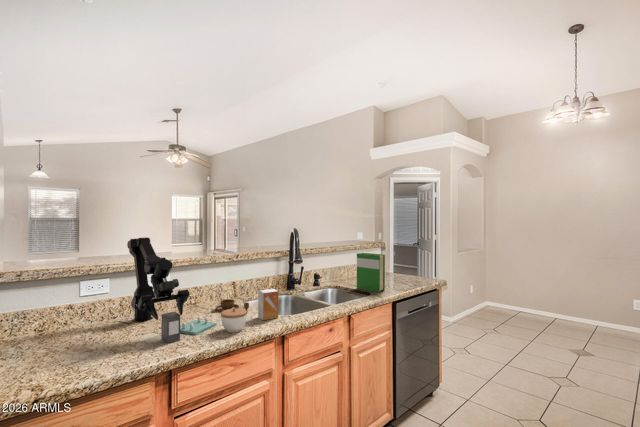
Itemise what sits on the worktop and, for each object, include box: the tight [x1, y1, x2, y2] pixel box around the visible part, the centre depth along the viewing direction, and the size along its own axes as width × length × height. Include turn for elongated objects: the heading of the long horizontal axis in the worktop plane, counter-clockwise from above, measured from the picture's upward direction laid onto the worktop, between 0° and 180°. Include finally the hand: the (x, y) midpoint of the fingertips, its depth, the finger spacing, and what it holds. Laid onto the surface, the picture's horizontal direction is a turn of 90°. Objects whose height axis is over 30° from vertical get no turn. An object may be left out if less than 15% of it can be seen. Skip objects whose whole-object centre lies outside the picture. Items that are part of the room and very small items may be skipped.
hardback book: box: [356, 252, 386, 293], centre depth 220 cm, size 18×7×24 cm, turn 50°
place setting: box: [210, 298, 250, 313], centre depth 167 cm, size 18×20×6 cm
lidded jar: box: [220, 307, 248, 333], centre depth 139 cm, size 11×11×9 cm
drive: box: [160, 311, 181, 344], centre depth 127 cm, size 6×5×10 cm
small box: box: [257, 288, 280, 321], centre depth 157 cm, size 8×6×13 cm
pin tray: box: [180, 315, 217, 336], centre depth 141 cm, size 12×13×4 cm
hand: (169, 316), depth 128 cm, fingers open, 9 cm apart
